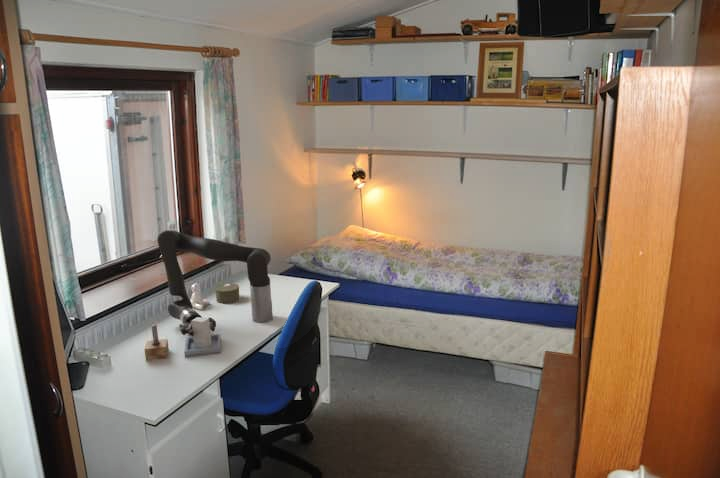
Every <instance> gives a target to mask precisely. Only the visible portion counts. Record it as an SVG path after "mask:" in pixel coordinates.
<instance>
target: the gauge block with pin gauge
mask: <svg viewBox="0 0 720 478" xmlns="http://www.w3.org/2000/svg"><path fill="white" fill-rule="evenodd" d="M151 334H152V340H147V341H146V343H145V347H144V357H145V362H147V361H155V360H165V359H167V358H168V355H169V350H170V349H169V341H168V340H169V339H168V338H162V339H159V333H158V325H157V324H152V325H151Z"/></svg>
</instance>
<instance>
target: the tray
mask: <svg viewBox="0 0 720 478" xmlns="http://www.w3.org/2000/svg"><path fill="white" fill-rule="evenodd" d="M185 338H186V339H185V345H184V358H190V357H191V358H192V357H199V356H208V355H219V354H221V350H222V345H221V343H222V341H221V340H222V338H221V334H220V333H217V334H211V342H212V345H211V346H209V347H208V348H197V347H194V339H193V336H187V337H185Z"/></svg>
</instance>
